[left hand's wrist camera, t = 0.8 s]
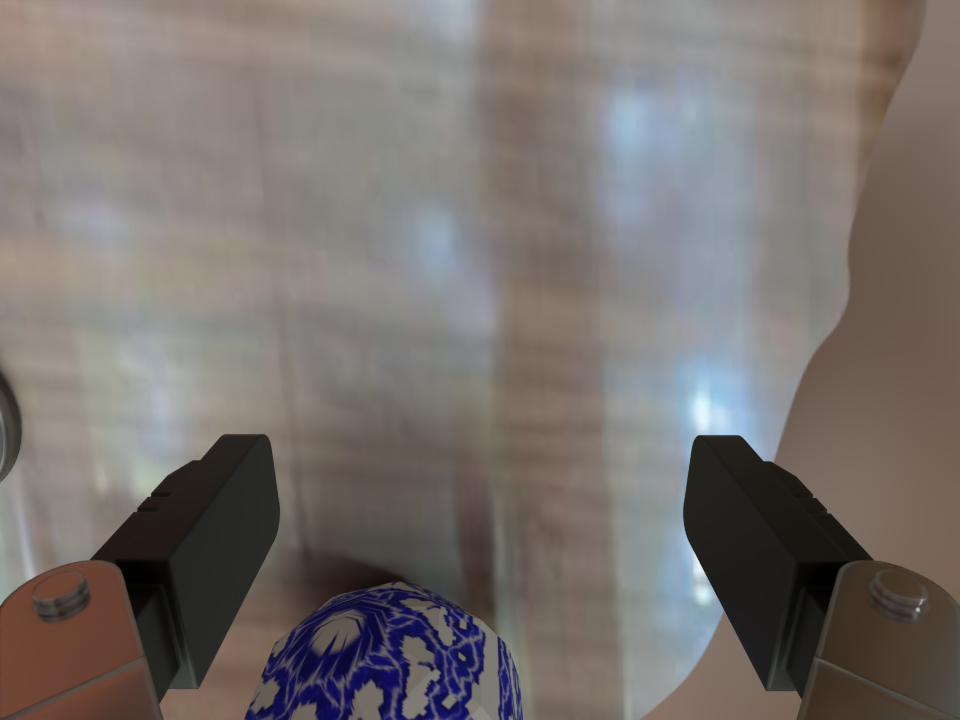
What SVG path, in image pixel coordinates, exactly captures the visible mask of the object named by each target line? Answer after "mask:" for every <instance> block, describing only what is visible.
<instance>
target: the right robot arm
mask: <svg viewBox="0 0 960 720" xmlns="http://www.w3.org/2000/svg"><path fill="white" fill-rule="evenodd" d="M20 443H21V426H20V419H19V415H18V411H17V407H16V405H15V402H14V399H13V397H12V395H11V393H10V391H9V389H8V387H7V385H6V383H5V382H4V380H3V378H2V377H1V376H0V482H1V481H2V480H3V479H4V478H5V477H6V476H7V475H8V474H9V472H10V471H11V469H12V468H13V466H14V464H15V462H16V459H17V456H18V453H19V449H20Z"/></svg>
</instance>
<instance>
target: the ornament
mask: <svg viewBox="0 0 960 720" xmlns="http://www.w3.org/2000/svg"><path fill="white" fill-rule="evenodd" d="M244 720H523V714H522V701H521V687H520V679H519V676H518V673H517V671H516V668H515V665H514V662H513V659H512V656H511V653H510V651H509V648H508V645H506V644H505V643H504V642H503V641H502V640H501V639H500V638H499V637H498V636H497V635H496V634H495V633H494V632H493V631H492V630H491V629H490V628H489V627H488V626H487V625H486V624H485V623H484V622H483V621H482V620H481V619H479V618H477V617H475V616H473V615H472V614H470V613H468V612H466V611H465V610H463V609H461V608H459V607H458V606H456V605H454V604H452V603H451V602H449V601H447V600H445V599H443V598H442V597H440V596H438V595H436V594H435V593H433V592H431V591H429V590H428V589H426V588H424V587H422V586H418V585H413V584H409V583H404V582H400V581H395V582H391V583H387V584H382V585H378V586H374V587H370V588H365V589H361V590H357V591H352V592H348V593H344V594H339V595H335V596H333V597H332V598H331V599H330V600H328V601H327V602H326V603H325V604H323V605H322V606H321V607H320V608H318V609H317V610H316V611H315V612H313V613H312V614H311V615H310V616H308V617H307V618H306V619H305V620H303V621H302V622H301V623H300V624H298V625H297V626H296V627H295V628H293V629H292V630H291V631H290V632H288V633H287V634H286V635H285V636H283V637H282V638H281V639H280V640H279V641H277V642H276V643H275V644H274V647H273V649H272V652H271V654H270V657H269V659H268V662H267V664H266V666H265V669H264V671H263V674H262V676H261V679H260V681H259V684H258V686H257V688H256V691H255V693H254V696H253V698H252V701H251V703H250V706H249V708H248V711H247V713H246V716H245V719H244Z"/></svg>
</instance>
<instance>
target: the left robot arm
mask: <svg viewBox="0 0 960 720" xmlns="http://www.w3.org/2000/svg"><path fill="white" fill-rule="evenodd" d="M137 509H138V510H137V512H134V513H133V514H132V515H131V516H130V517H129V518H128V519H127V520H126V521H125V522H124V523H123V524H122V525H121V527H120V528H119V529H118V530H117V531H116V532H115V533H114V534H113V535H112V536H111V537H110V538H109V540H108V541H107V542H106V543H105V544H104V545H103V546H102V547H101V548H100V549H99V550H98V551H97V553H96V554H95V555H94V556H93V557H92V558H91V559H90V560H87V561H79V562H74V563H70V564H66V565H63V566H59V567H56V568H54V569H51V570H49V571H46V572H44V573H42V574H40V575H38V576H36V577H34V578H32V579H31V580H29V581H27V582H26V583H24V584H23V585H21V586H20V587H18V588H17V589H16V590H15V591H14V592H12V593H11V594H10V595H9V596H8V597H7V598H6V599H5V600H4V602H3V603H2V604H1V606H0V720H164V719H163V716H162V712H161V709H160V705H159V704H160V702H161V700H162V699H163V697H164V695H165V693H166V692H167V690H168V689H199V687H200V685H201V683H202V681H203V679H204V677H205V675H206V673H207V671H208V669H209V667H210V665H211V663H212V661H213V659H214V657H215V656H216V654H217V652H218V650H219V648H220V646H221V644H222V642H223V640H224V638H225V636H226V634H227V632H228V630H229V628H230V626H231V624H232V622H233V620H234V618H235V616H236V614H237V612H238V610H239V609H240V607H241V605H242V603H243V601H244V599H245V597H246V595H247V593H248V591H249V589H250V587H251V585H252V583H253V581H254V579H255V577H256V575H257V573H258V571H259V569H260V567H261V565H262V563H263V561H264V560H265V558H266V556H267V554H268V552H269V550H270V548H271V546H272V544H273V542H274V540H275V538H276V535H277V531H278V526H279V519H280V505H279V498H278V491H277V484H276V477H275V470H274V462H273V455H272V448H271V444H270V440H269V438H268V437H267V436H266V435H265V434H224V435H222V436H221V437H220V438H219V439H218V440H217V442H216V443H215V444H214V445H213V446H212V447H211V449H210V450H209V451H208V452H207V453H206V454H205V455H204V457H203V458H202V459H201V460H193V461H191V462H189V463H188V464H186V465H184V466H183V467H181V468H179V469H178V470H176V471H174V472H173V473H171V474H169V475H168V476H167V477H166V478H165V479H164V480H163V481H162V482H161V483H160V484H159V485H158V487H157V488H156V489H155V490H154V491H153V492H152V493H151V497H147V498H146V500H145V501H144V502H143V503H142V504H141V505H140V506H139V507H138V508H137ZM683 519H684V527H685V532H686V535H687V538H688V541H689V543H690V545H691V547H692V549H693V551H694V552H695V554H696V556H697V558H698V560H699V562H700V564H701V566H702V568H703V570H704V572H705V574H706V576H707V578H708V580H709V581H710V583H711V585H712V587H713V589H714V591H715V593H716V595H717V597H718V599H719V601H720V603H721V605H722V607H723V609H724V611H725V612H726V614H727V616H728V618H729V620H730V622H731V624H732V626H733V628H734V630H735V632H736V634H737V636H738V638H739V640H740V641H741V643H742V645H743V647H744V649H745V651H746V653H747V655H748V657H749V659H750V661H751V663H752V665H753V667H754V669H755V670H756V672H757V674H758V676H759V678H760V680H761V682H762V684H763V686H764V688H765V690H766V691H797V692H798V694H799V696H800V697H801V699H802V702H801V705H800V709H799V712H798V716H797V720H960V606H959V604H958V603H957V602H956V600H955V599H954V598H953V597H952V596H951V595H950V594H949V593H948V592H946V591H945V590H944V589H943V588H941V587H940V586H939V585H937V584H936V583H934V582H933V581H931V580H929V579H928V578H926V577H924V576H922V575H920V574H918V573H916V572H914V571H911V570H909V569H906V568H904V567H901V566H897V565H894V564H890V563H886V562H881V561H874V560H873V559H872V557H871V556H870V555H869V554H868V553H867V552H866V551H865V550H864V549H863V548H862V547H861V546H860V545H859V544H858V542H857V541H856V540H855V539H854V538H853V537H852V536H851V535H850V534H849V533H848V532H847V531H846V530H845V528H844V527H843V526H842V525H841V524H840V523H839V522H838V521H837V520H836V519H835V518H834V517H833V516H832V515H831V514H828V513H827V509H826V508H825V507H824V506H823V505H822V504H821V503H820V502H819V501H818V499H817V498H813V494H812V493H811V492H810V491H809V490H808V489H807V488H806V487H805V486H804V484H803V483H802V482H801V481H800V480H799V479H798V478H797V477H796V476H794V475H793V474H791V473H789V472H788V471H786V470H784V469H782V468H781V467H779V466H778V465H776V464H774V463H773V462H771V461H763V460H762V459H761V458H760V457H759V456H758V454H757V453H756V452H755V451H754V450H753V449H752V448H751V446H750V445H749V444H748V443H747V442H746V441H745V440H744V438H742V437H741V436H739V435H699V436H697V437H696V438H695V440H694V442H693V445H692V451H691V458H690V465H689V472H688V479H687V485H686V492H685V499H684V507H683Z"/></svg>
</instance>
